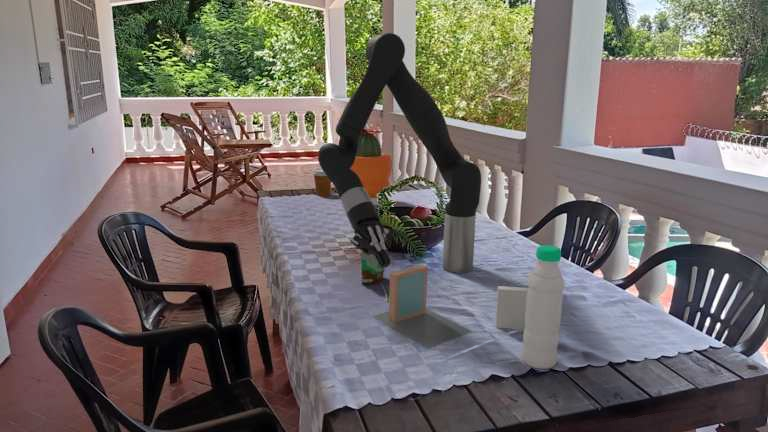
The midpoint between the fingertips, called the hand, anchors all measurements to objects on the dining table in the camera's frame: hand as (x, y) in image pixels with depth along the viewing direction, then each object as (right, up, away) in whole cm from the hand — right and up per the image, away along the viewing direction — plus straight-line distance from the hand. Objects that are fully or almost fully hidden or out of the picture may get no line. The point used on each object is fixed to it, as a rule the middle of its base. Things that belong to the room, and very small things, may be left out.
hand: (386, 265), depth 141 cm
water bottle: (+32, -18, -23) cm, 43 cm away
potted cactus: (-7, +19, +116) cm, 118 cm away
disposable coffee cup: (-30, +23, +130) cm, 135 cm away
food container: (-3, -6, +21) cm, 22 cm away
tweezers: (0, -9, +13) cm, 16 cm away
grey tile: (+30, -14, -8) cm, 34 cm away
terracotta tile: (+5, -12, -4) cm, 14 cm away
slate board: (+8, -13, -7) cm, 17 cm away
